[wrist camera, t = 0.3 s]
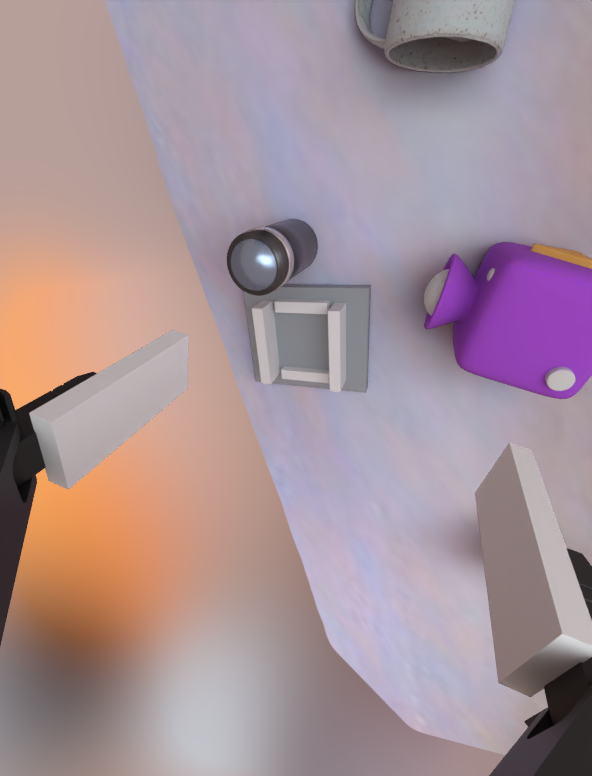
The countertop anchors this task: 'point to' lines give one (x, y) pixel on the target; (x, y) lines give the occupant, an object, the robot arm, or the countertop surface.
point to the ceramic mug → (441, 32)
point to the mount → (311, 336)
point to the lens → (271, 255)
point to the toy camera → (519, 316)
